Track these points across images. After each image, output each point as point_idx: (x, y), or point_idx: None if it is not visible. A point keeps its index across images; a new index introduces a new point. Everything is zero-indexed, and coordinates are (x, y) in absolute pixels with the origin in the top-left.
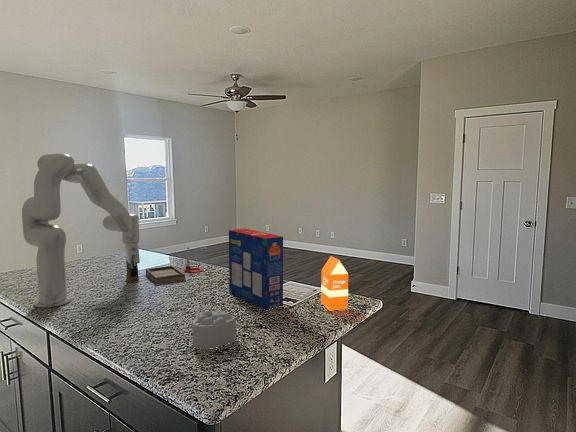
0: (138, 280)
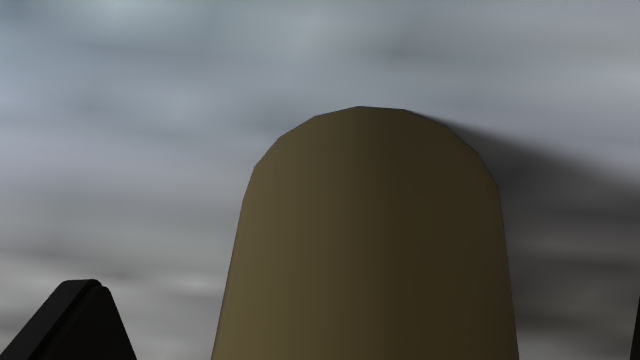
0: (448, 135)
